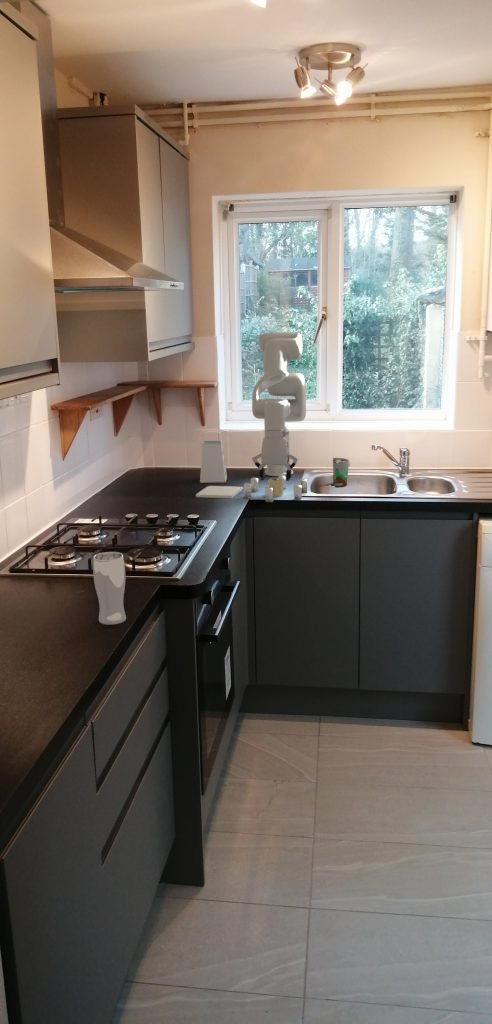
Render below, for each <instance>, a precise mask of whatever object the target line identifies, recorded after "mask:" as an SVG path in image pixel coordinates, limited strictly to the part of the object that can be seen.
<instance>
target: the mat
mask: <svg viewBox="0 0 492 1024" xmlns="http://www.w3.org/2000/svg"><path fill="white" fill-rule="evenodd" d="M242 489H243V490H244V486H231V485H230V486H229V485H226V486H224V485H207V486H206V487H205V488H203V489H202V490H200V491H199V492H197V493H196V494H195V498H212V499H213V498H214V499H215V498H216V499H233V498H234V497H235V496H237V495H238V494H239V493H240V492H241V491H243V490H242Z"/></svg>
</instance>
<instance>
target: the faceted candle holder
mask: <svg viewBox="0 0 492 1024" xmlns="http://www.w3.org/2000/svg"><path fill="white" fill-rule="evenodd" d="M267 483H268V485H267V487H273V496H276V497H282V496H283V495H284V489H283V479H281V478H278V477H274V478H273V477H272V478H269V479H268V481H267Z"/></svg>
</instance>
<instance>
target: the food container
mask: <svg viewBox="0 0 492 1024" xmlns="http://www.w3.org/2000/svg"><path fill="white" fill-rule="evenodd" d="M350 466H351V464H350V461H349V459H348V458H345V457H333V458H332V479H333V480H332V481H333V482H332V483H333V486H334V488H336V489H337V488H345V487H347V486H348V476H349V467H350Z"/></svg>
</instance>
